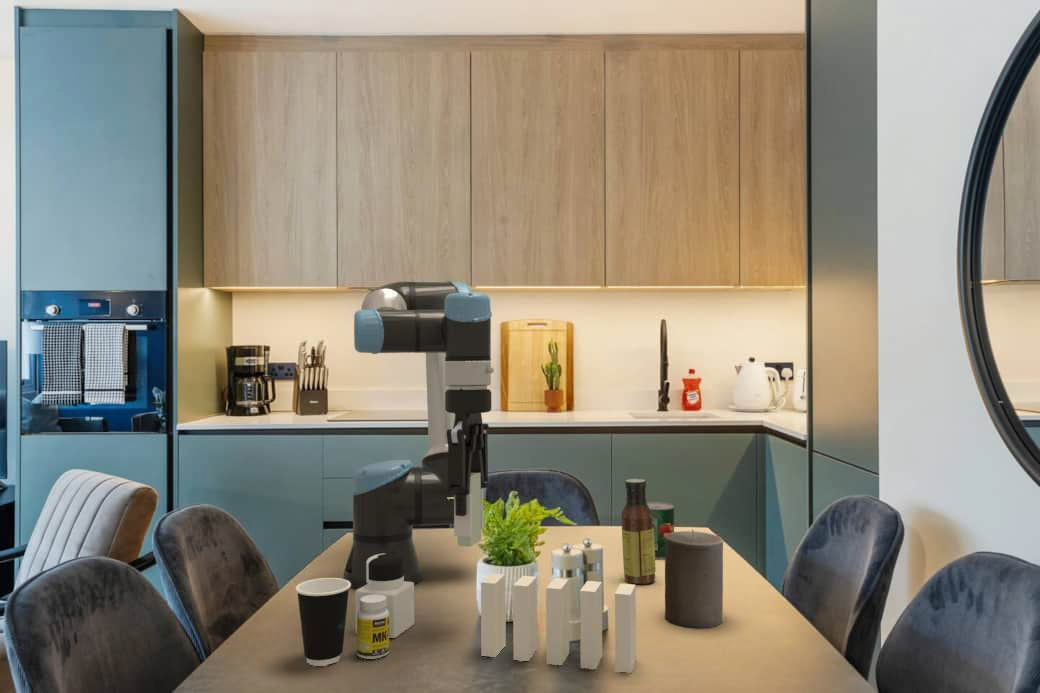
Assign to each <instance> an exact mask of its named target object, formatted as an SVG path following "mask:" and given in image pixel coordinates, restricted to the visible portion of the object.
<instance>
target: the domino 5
mask: <svg viewBox="0 0 1040 693" xmlns="http://www.w3.org/2000/svg"><path fill="white" fill-rule="evenodd" d="M636 585H637V584H632V583H619V586H618V587H617V589H616V591H615V593H614V639H615V640H614V642H615V644H614V645H615V646H614V648H615V649H614V652H615V653H614V660H615V661H614V664H615V665H614V666H615V667H614V668H615V671H619V672H618V673H620V672H629V673H631V672H633V670H634V667H635V665H634V664H636V662H637V621H636V620H637V613H636V612H637V609H636V607H637V604H636V603H637V602H636V601H637V598H636V595H637V594H636V591H637V590H636ZM635 661H636V662H635ZM633 666H634V667H633ZM632 669H633V670H632ZM629 673H628V674H629ZM631 674H632V673H631Z"/></svg>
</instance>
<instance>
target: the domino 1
mask: <svg viewBox="0 0 1040 693" xmlns="http://www.w3.org/2000/svg"><path fill="white" fill-rule="evenodd" d="M506 616H507V610H506V574H504V573H493V572H492V573H490V574H489V575H488V576H487V577H485V578H484V579H483V580H482V581H481V582H480V633H481V635H480V637H481V638H480V642H481V643H480V646H481V647H480V651H481V656H490V657H496V656H497V655H498V654H499V653H500V654H501V652H502V651H503V650H504V649H505V648H506V647H505V646H507V644H506V643H507V642H506V641H507V637H506V636H507V635H506V629H507V628H506V627H507V626H506V625H507V623H506V622H507V620H506ZM504 647H505V648H504ZM503 648H504V649H503ZM502 649H503V650H502ZM501 650H502V651H501ZM500 651H501V652H500ZM500 654H499V655H500ZM499 655H498V656H499ZM481 656H480V657H481ZM498 656H497V657H498ZM497 657H496V658H497Z"/></svg>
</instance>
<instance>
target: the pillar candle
mask: <svg viewBox="0 0 1040 693" xmlns="http://www.w3.org/2000/svg"><path fill="white" fill-rule="evenodd" d="M723 571H724V539H723V537H721V536H718V535H715V534H713V533H708V532H704V531H694V529H691V530H690V531H687V530H685V531H674V532H672V533H669V534H667V535H666V536H665V559H664V619H666V620H667V621H668V622H670V623H671V624H673V625H676V626H679V627H680V626H681V627H684V628H692V629H694V628H695V629H706V628H713V627H717V626H719V625H721V624H722V623H723V615H724V614H723V611H724V610H723V609H724V608H723V607H724V606H723V604H724V602H723V598H724V597H723V596H724V588H723V587H724V574H723V573H724V572H723Z"/></svg>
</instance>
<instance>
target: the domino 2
mask: <svg viewBox="0 0 1040 693" xmlns="http://www.w3.org/2000/svg"><path fill="white" fill-rule="evenodd" d="M537 580H538V579H537V576H532V575H531V576H530V575H522V576H521V577H520V578H519V579H518V580H516V582H515V583H514V584H513V585H512V607H513V608H512V611H513V612H512V619H513V622H512V623H513V624H512V625H513V627H512V628H513V630H512V632H513V636H512V637H513V638H512V639H513V645H512V646H513V648H512V649H513V661H514V660H518V661H517V662H522V661H530V660H531V659H532V657H533V656H534V655H535V653H536V652H537V650H538V614H537V613H538V599H537V598H538V597H537V596H538V594H537V593H538V591H537V590H538V589H537V588H538V587H537V586H538V584H537ZM535 651H536V652H535ZM533 654H534V655H533ZM530 658H531V659H530Z"/></svg>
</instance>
